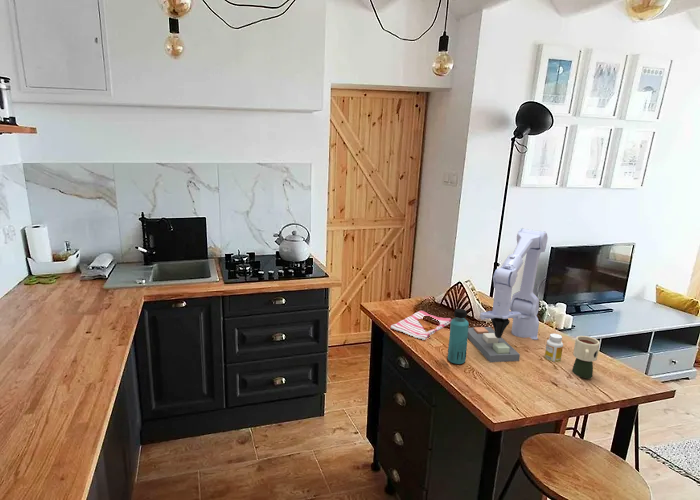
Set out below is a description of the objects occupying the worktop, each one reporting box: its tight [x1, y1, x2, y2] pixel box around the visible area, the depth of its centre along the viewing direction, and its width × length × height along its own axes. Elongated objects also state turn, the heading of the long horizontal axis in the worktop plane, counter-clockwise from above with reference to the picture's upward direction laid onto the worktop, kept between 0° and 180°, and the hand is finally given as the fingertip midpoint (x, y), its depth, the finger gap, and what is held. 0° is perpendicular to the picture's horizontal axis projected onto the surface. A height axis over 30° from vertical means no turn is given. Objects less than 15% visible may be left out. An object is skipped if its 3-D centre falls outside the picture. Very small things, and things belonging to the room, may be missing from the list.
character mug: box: [571, 335, 601, 379], centre depth 150 cm, size 11×7×13 cm, turn 154°
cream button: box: [483, 333, 499, 343], centre depth 168 cm, size 4×4×3 cm
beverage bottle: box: [446, 308, 470, 365], centre depth 155 cm, size 6×7×20 cm
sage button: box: [493, 343, 510, 354], centre depth 160 cm, size 4×4×3 cm
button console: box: [467, 326, 521, 363], centre depth 169 cm, size 11×24×4 cm, turn 8°
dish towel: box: [390, 310, 453, 341], centre depth 188 cm, size 17×23×4 cm
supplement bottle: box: [544, 333, 564, 363], centre depth 160 cm, size 5×5×10 cm
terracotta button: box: [473, 326, 488, 334], centre depth 177 cm, size 4×4×3 cm
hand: (497, 336), depth 162 cm, fingers closed
